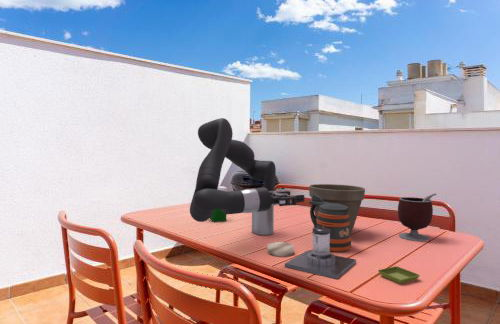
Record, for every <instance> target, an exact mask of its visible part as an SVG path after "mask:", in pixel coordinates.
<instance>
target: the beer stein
mask: <svg viewBox="0 0 500 324" xmlns="http://www.w3.org/2000/svg"><path fill="white" fill-rule="evenodd" d="M308 203H309V205H311V206H310V209H309V216H310V219H311V220H310V221H311V222H312V224H313V228H315V227H325V228H329V229H330V253H331V252H332V253H345V252H348V251H350V250H351V249H352V236H351V235H350V228H349V225H350V221H349V213H348V210H349V207H347V206H345V205H342V204H337V203H328V202H323V200H322V198H321V197H320V196H318V195H315V194H314V195H313V198H311V200H309V201H308ZM316 206H318V207H319V210H318V213H317V217H316V216H315V212H314V208H315V207H316Z"/></svg>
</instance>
